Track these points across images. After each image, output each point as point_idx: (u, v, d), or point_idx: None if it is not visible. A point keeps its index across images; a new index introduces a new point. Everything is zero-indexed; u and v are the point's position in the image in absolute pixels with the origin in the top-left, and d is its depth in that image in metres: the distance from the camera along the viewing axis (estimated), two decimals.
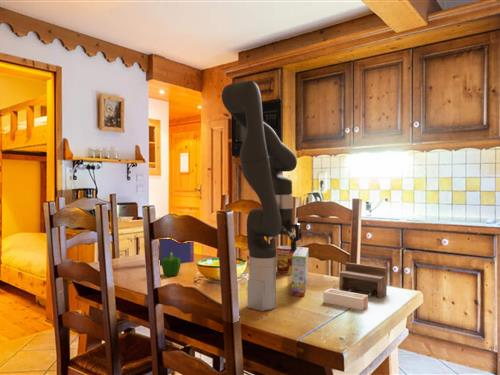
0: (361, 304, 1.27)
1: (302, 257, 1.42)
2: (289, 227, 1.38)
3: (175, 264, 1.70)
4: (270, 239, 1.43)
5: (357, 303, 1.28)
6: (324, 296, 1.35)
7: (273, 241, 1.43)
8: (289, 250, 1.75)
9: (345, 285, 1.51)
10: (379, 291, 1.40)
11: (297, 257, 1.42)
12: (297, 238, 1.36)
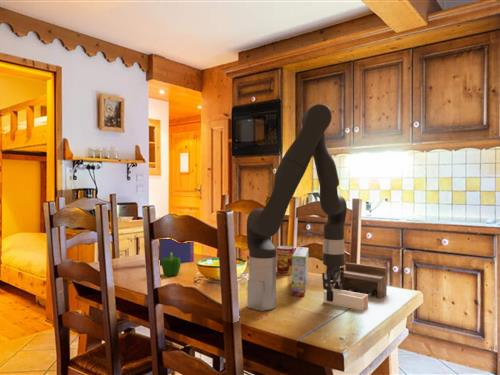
0: (361, 303, 1.27)
1: (302, 257, 1.42)
2: None
3: (175, 264, 1.70)
4: (332, 290, 1.32)
5: (357, 302, 1.28)
6: (324, 295, 1.35)
7: None
8: (289, 250, 1.75)
9: (345, 285, 1.51)
10: (379, 291, 1.40)
11: (297, 257, 1.42)
12: (342, 281, 1.40)
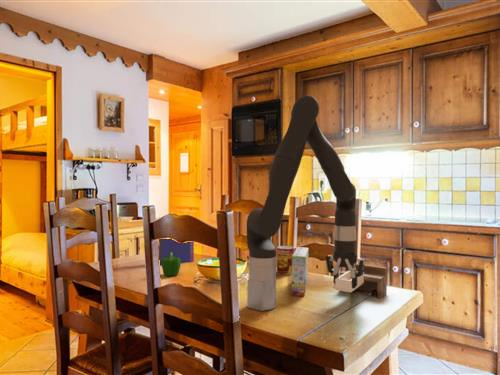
0: (363, 277, 1.42)
1: (302, 257, 1.42)
2: None
3: (175, 264, 1.70)
4: None
5: (362, 277, 1.40)
6: (351, 285, 1.31)
7: None
8: (289, 250, 1.75)
9: None
10: (379, 291, 1.40)
11: (297, 257, 1.42)
12: None
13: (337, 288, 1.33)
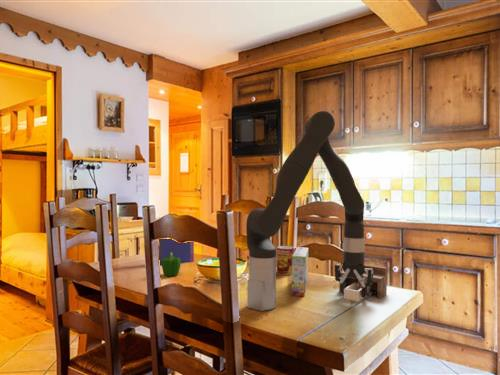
0: (371, 287, 1.47)
1: (302, 257, 1.42)
2: None
3: (175, 264, 1.70)
4: None
5: (370, 288, 1.46)
6: (359, 295, 1.36)
7: None
8: (289, 250, 1.75)
9: None
10: (379, 291, 1.40)
11: (297, 257, 1.42)
12: None
13: (345, 298, 1.39)
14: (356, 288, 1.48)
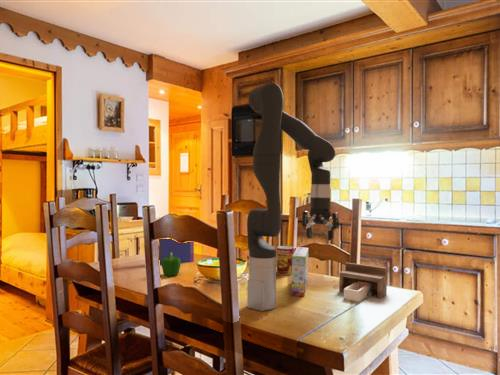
0: (371, 287, 1.47)
1: (302, 257, 1.42)
2: None
3: (175, 264, 1.70)
4: None
5: (370, 288, 1.46)
6: (358, 295, 1.36)
7: None
8: (289, 250, 1.75)
9: (345, 285, 1.51)
10: (379, 291, 1.40)
11: (297, 257, 1.42)
12: None
13: (345, 298, 1.39)
14: (356, 288, 1.48)
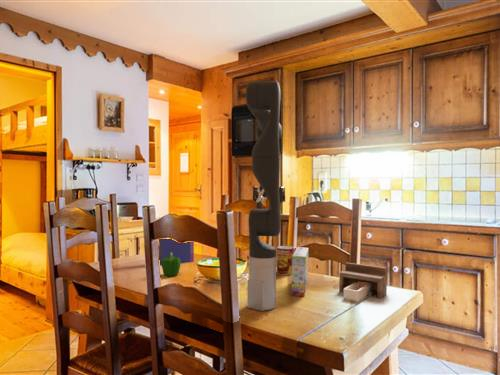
0: (371, 287, 1.47)
1: (302, 257, 1.42)
2: None
3: (175, 264, 1.70)
4: (280, 203, 1.53)
5: (370, 288, 1.46)
6: (358, 295, 1.36)
7: None
8: (289, 250, 1.75)
9: (345, 285, 1.51)
10: (379, 291, 1.40)
11: (297, 257, 1.42)
12: None
13: (345, 298, 1.39)
14: (356, 288, 1.48)
